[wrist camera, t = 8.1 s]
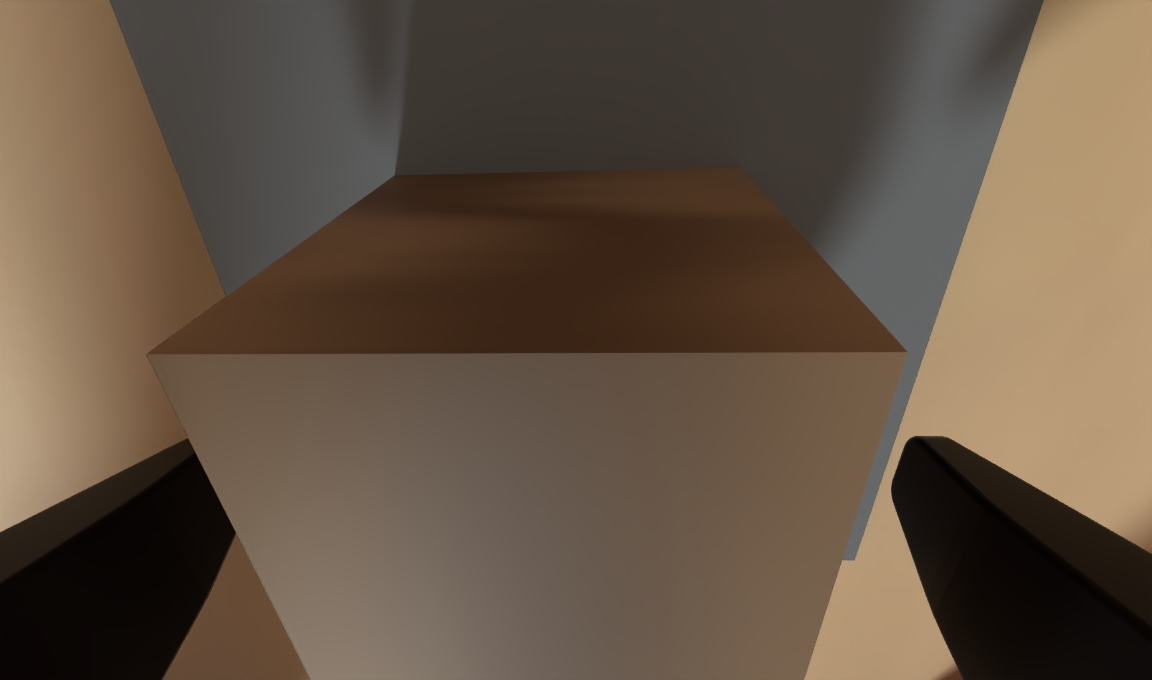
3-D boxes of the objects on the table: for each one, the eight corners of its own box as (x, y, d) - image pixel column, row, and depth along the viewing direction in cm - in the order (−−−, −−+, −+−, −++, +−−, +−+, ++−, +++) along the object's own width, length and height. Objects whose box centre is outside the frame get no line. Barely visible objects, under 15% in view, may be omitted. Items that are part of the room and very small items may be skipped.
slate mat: (334, 531, 15) (325, 549, 15) (101, -98, 8) (67, -106, 8) (845, 541, 15) (854, 560, 14) (1065, -152, 7) (1098, -162, 7)
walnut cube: (446, 438, 13) (334, 727, 7) (394, 175, 10) (146, 354, 4) (709, 440, 12) (783, 745, 7) (740, 167, 9) (907, 352, 4)
